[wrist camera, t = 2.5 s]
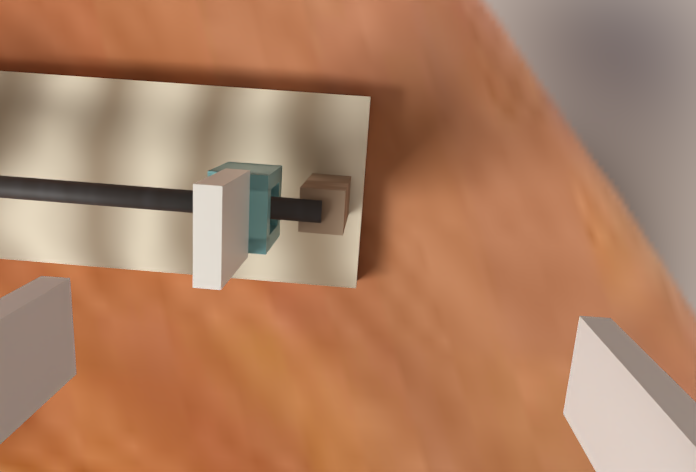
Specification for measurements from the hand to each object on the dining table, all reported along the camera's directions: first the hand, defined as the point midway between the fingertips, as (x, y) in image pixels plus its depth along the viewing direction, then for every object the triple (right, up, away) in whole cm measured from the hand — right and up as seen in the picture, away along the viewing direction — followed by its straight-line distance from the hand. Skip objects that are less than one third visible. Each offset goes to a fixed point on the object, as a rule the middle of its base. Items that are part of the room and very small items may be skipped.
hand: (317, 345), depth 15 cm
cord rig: (-14, +7, +23) cm, 28 cm away
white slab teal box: (-4, +5, +17) cm, 19 cm away
